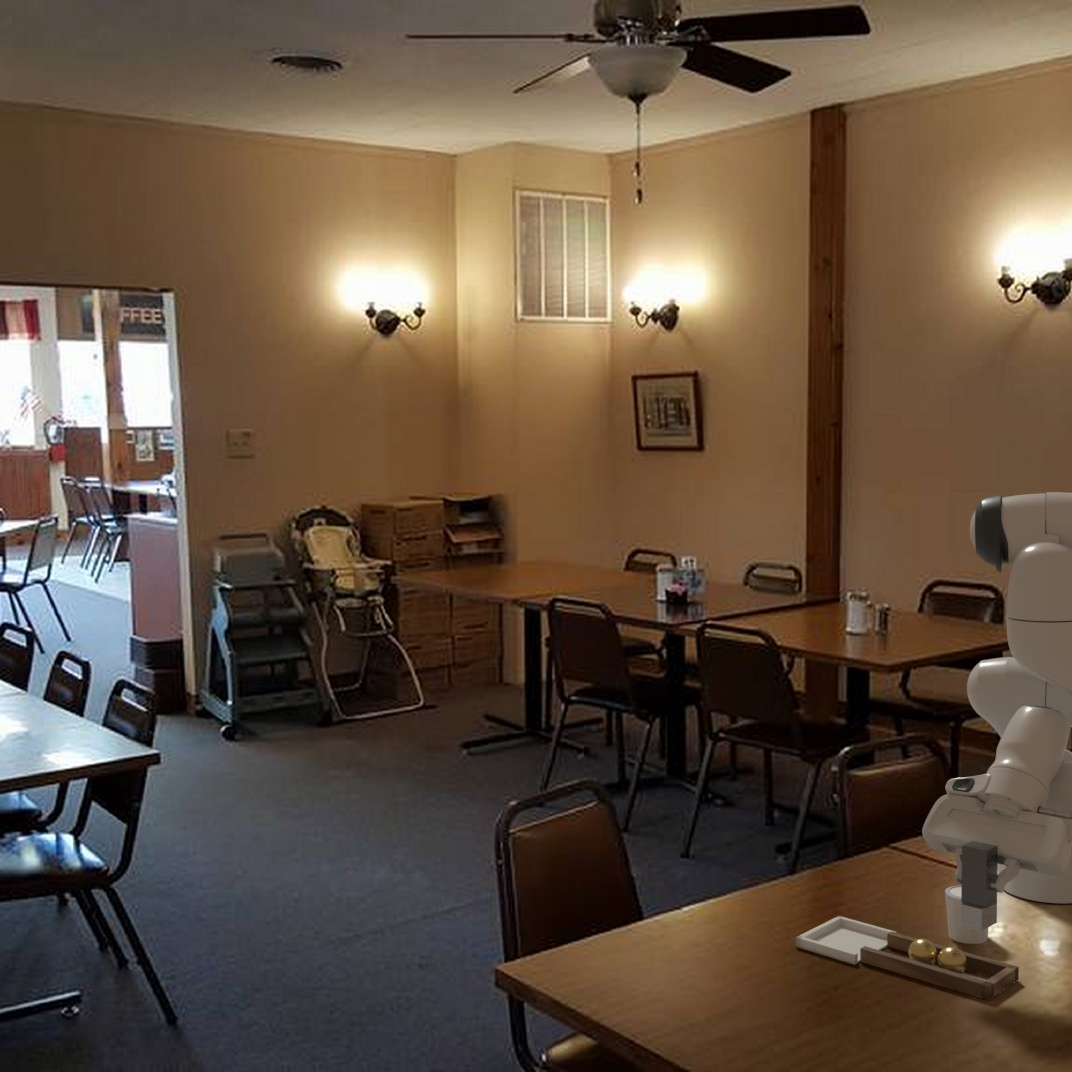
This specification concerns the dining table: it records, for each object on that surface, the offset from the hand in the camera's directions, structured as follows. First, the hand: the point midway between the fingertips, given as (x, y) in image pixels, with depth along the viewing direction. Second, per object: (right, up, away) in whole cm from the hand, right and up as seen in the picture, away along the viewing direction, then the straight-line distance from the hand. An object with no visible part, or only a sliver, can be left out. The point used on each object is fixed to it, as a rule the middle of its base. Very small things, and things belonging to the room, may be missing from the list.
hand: (977, 885), depth 180 cm
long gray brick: (0, -6, +1) cm, 6 cm away
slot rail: (-3, -14, +7) cm, 16 cm away
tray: (-14, -13, +17) cm, 26 cm away
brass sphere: (-2, -14, +5) cm, 15 cm away
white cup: (+5, -13, +19) cm, 24 cm away
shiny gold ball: (-5, -14, +8) cm, 17 cm away
